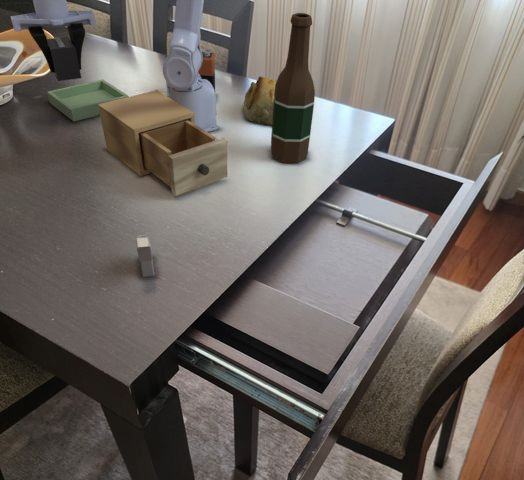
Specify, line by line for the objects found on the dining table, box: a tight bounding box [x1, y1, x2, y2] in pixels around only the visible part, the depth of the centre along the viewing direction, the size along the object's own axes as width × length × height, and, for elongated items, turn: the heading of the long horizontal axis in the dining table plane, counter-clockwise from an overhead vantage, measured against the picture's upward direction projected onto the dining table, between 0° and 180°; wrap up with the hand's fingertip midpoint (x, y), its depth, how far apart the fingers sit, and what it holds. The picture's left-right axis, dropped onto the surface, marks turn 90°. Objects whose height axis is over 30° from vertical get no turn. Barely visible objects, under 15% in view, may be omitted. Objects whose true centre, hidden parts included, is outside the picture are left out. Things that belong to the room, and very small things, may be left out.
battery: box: [198, 48, 216, 92], centre depth 111 cm, size 4×7×10 cm, turn 88°
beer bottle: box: [270, 12, 316, 164], centre depth 89 cm, size 8×8×24 cm
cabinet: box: [98, 89, 195, 177], centre depth 92 cm, size 13×13×9 cm
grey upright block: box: [135, 233, 155, 278], centre depth 68 cm, size 7×2×8 cm, turn 13°
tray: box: [46, 79, 130, 123], centre depth 108 cm, size 14×12×2 cm
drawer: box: [139, 119, 228, 197], centre depth 87 cm, size 13×11×7 cm
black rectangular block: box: [47, 36, 82, 82], centre depth 95 cm, size 6×4×6 cm
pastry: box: [241, 75, 277, 126], centre depth 107 cm, size 14×12×8 cm
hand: (65, 69), depth 96 cm, fingers closed on black rectangular block, 4 cm apart
